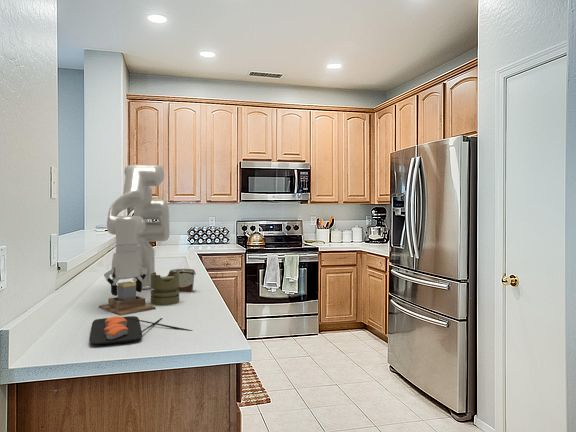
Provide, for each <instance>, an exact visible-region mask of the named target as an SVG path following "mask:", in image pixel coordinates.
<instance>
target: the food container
mask: <svg viewBox="0 0 576 432" xmlns="http://www.w3.org/2000/svg"><path fill="white" fill-rule="evenodd" d="M169 271H176V272H179V287H178V288H177V289H179V293H193V292H194V283H195V282H194V281H195V275H196V271H195V269H193V268H174V269H170V270H169Z"/></svg>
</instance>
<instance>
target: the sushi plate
mask: <svg viewBox="0 0 576 432" xmlns="http://www.w3.org/2000/svg"><path fill="white" fill-rule="evenodd" d="M163 319H164V318H163V317H160V318H159V319H158V320H156V321H154V322H153V321H146V320H141V319H140V318H139V317H138V316H136V315H134V316H133V315H132V316H131V315H130V316H121V315H118V316H117V315H115V316H110V317H106V318H105V317H104V318H97V319H94V320H93V321H92V322H91V323H92V324H91V329H90V332H89V333H90V334H89V343H90V344H91V345H106V344H107V345H109V344H110V345H111V344H121V343H128V342H133V341H139V340H141V339H142V338H143V332H145V331H146V330H148V329H150V328H152V327H153V326H155V325H156V326H159V327H165V328H168V329H169V328H170V329H172V330H173V329H174V330H178V331H190V332H193V330H192V329H187V328H182V327H178V326H173V325H167V324H162V323H160V321H161V320H163ZM140 322H143V323H148V324H150V325H149V326H147V327H145V328H144V329H143V330H142V327H141V323H140Z"/></svg>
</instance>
